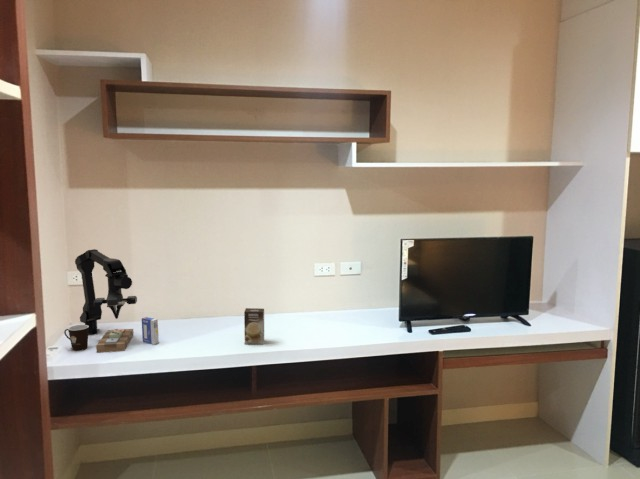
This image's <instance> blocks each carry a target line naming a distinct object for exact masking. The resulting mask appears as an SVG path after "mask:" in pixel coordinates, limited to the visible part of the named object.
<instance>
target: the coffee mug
mask: <svg viewBox="0 0 640 479" xmlns="http://www.w3.org/2000/svg"><path fill="white" fill-rule="evenodd" d="M88 330H89V326H88V325H85V324H76V325H72V326H69V327H68V328H66V329H64V335H65V337H66V338H67V339H68V340H69V341H70V345H71V349H72V351H74V352H77V351H78V352H80V351H85V350H87V349H88V347H89V346H88V344H89V341H88V340H89V334H88ZM67 331H68V335H69V336H68V335H67Z"/></svg>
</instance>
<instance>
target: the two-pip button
mask: <svg viewBox="0 0 640 479" xmlns="http://www.w3.org/2000/svg"><path fill="white" fill-rule="evenodd" d="M125 329H126V328H116V329H115V328H114V329H113V330H114V331H113V332H117V331H122V333H124V332H125Z"/></svg>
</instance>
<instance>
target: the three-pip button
mask: <svg viewBox="0 0 640 479" xmlns="http://www.w3.org/2000/svg"><path fill="white" fill-rule="evenodd" d="M121 336H122V331H117V332H111V333H110V334H109V339H110V338H121Z"/></svg>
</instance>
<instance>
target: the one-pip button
mask: <svg viewBox="0 0 640 479" xmlns="http://www.w3.org/2000/svg"><path fill="white" fill-rule="evenodd" d="M118 341H119V338H110V339H107V341H106V344H107V343H118Z"/></svg>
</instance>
